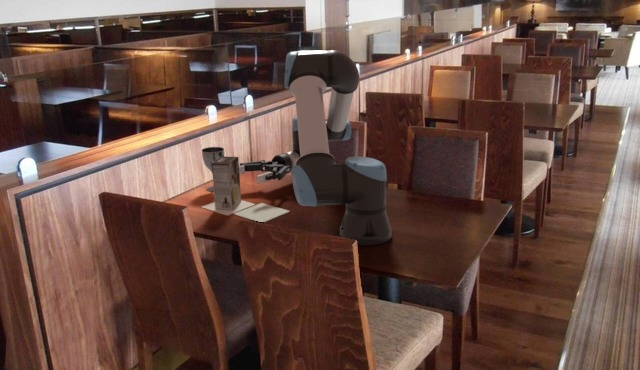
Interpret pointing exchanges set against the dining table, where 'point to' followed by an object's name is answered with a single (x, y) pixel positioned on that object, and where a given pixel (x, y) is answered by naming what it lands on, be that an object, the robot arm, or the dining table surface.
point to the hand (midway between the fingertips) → (243, 176)
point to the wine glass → (211, 159)
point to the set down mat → (261, 212)
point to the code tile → (239, 207)
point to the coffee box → (226, 183)
